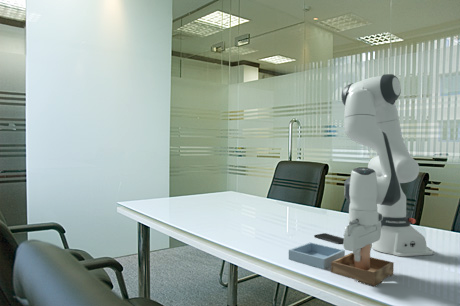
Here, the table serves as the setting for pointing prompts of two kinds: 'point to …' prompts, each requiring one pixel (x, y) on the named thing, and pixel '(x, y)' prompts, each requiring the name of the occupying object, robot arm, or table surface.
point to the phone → (330, 238)
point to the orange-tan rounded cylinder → (364, 259)
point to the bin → (315, 255)
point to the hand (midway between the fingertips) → (362, 258)
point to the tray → (371, 277)
